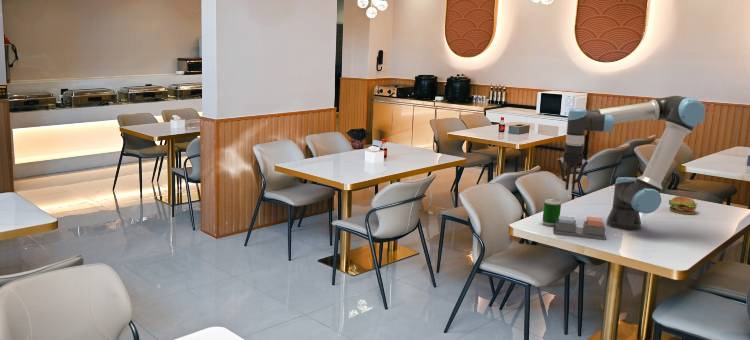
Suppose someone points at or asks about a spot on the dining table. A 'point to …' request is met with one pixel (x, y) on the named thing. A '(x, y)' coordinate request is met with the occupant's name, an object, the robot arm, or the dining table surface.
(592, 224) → the brick red key
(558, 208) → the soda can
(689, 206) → the food
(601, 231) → the key console
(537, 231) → the dining table surface
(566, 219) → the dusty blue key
